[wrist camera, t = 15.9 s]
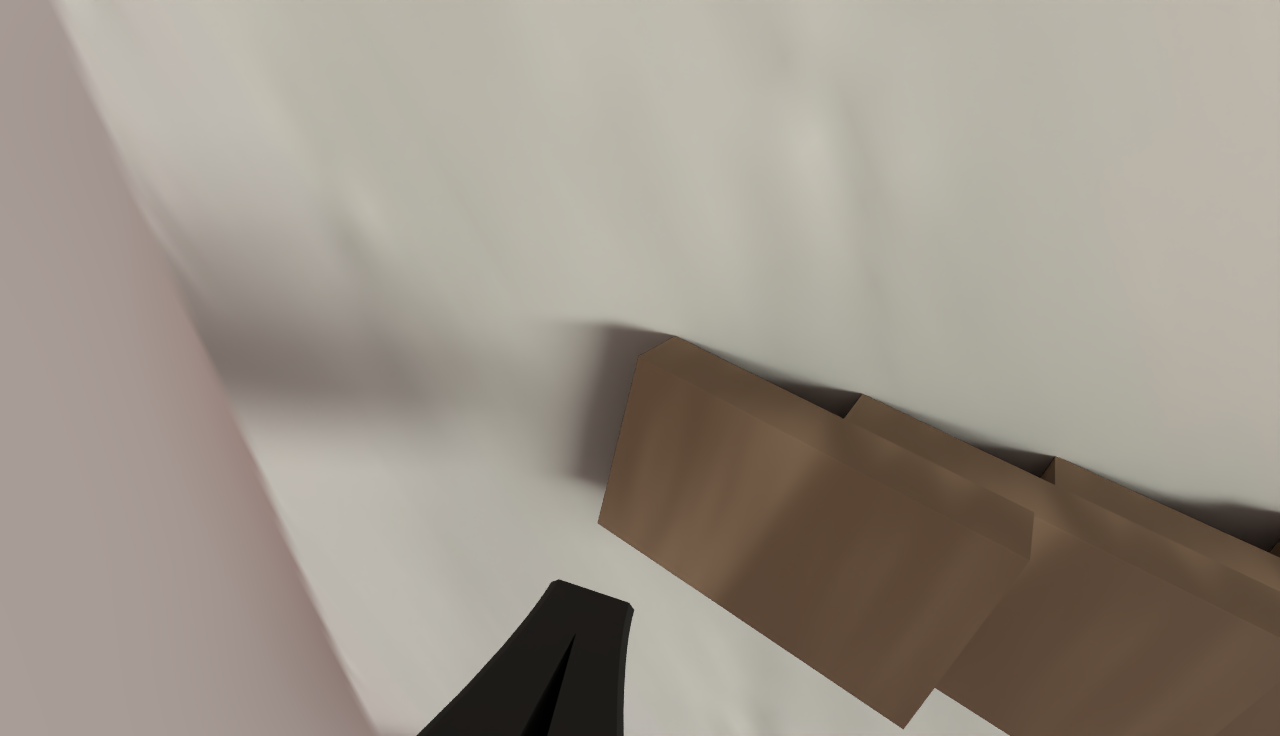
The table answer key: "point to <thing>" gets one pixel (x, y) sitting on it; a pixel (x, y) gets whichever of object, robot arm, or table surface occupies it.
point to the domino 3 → (1276, 723)
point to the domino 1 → (810, 525)
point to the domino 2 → (1100, 615)
